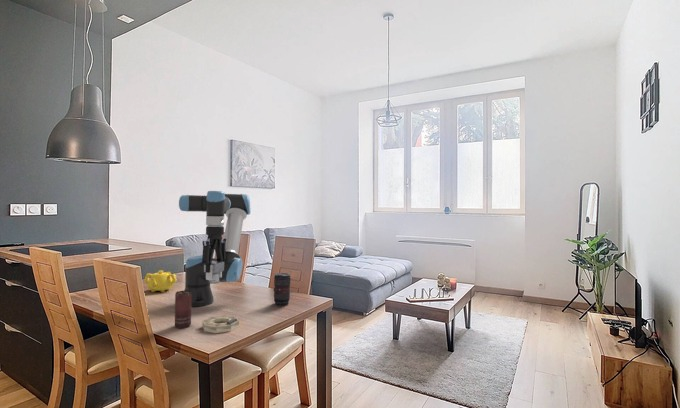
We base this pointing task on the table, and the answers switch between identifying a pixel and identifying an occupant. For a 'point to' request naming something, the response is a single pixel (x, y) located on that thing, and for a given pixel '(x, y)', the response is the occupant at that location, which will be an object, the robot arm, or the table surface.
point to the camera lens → (282, 289)
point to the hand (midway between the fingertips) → (213, 278)
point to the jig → (220, 324)
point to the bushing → (215, 271)
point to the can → (183, 309)
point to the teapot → (160, 281)
